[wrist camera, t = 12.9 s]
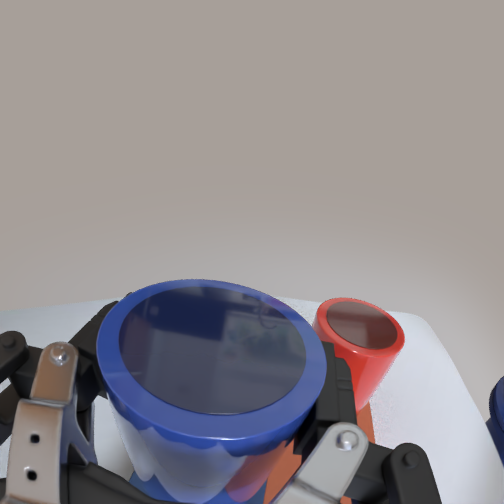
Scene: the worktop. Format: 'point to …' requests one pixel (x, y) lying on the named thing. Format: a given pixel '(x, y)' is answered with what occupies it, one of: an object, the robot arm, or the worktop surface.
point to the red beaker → (360, 341)
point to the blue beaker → (207, 386)
